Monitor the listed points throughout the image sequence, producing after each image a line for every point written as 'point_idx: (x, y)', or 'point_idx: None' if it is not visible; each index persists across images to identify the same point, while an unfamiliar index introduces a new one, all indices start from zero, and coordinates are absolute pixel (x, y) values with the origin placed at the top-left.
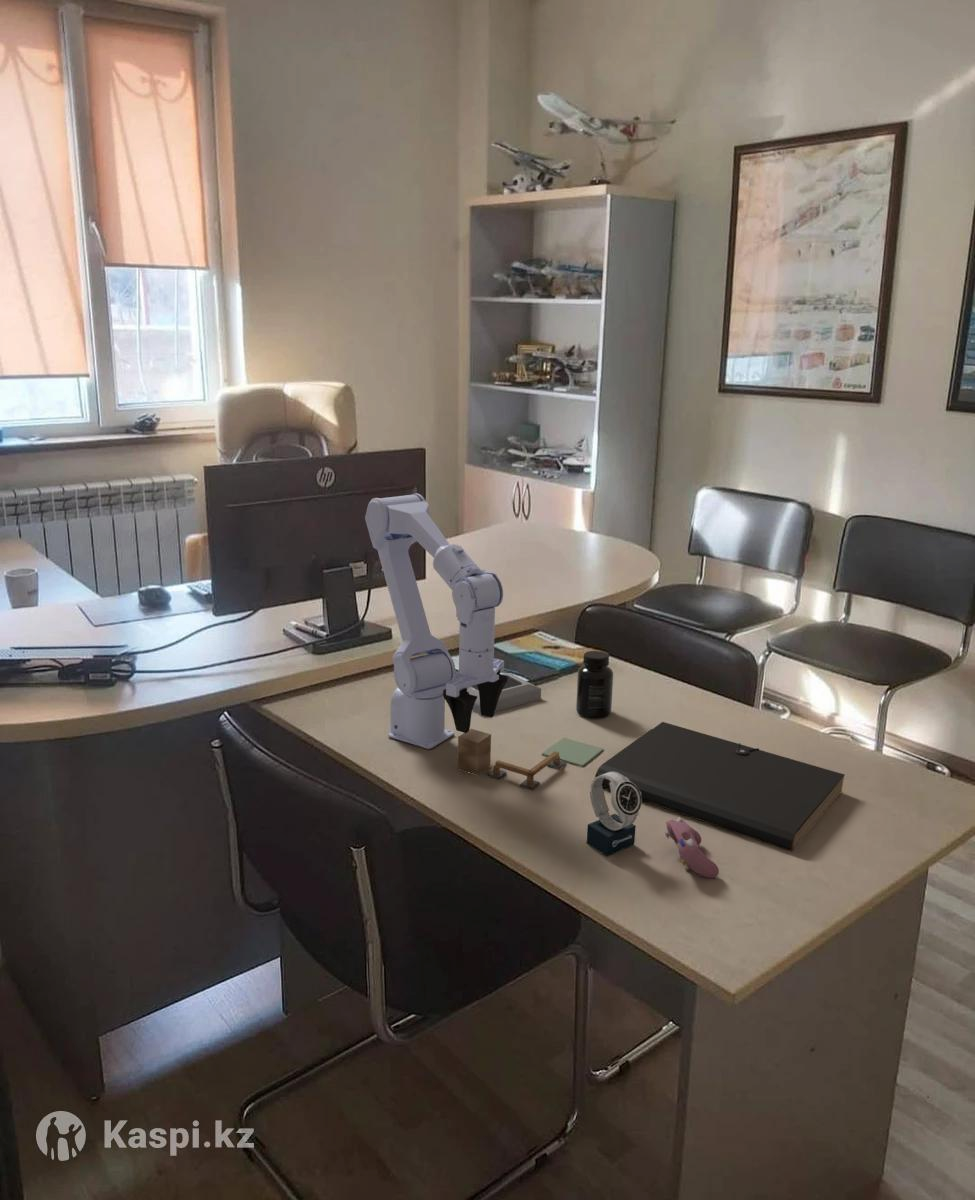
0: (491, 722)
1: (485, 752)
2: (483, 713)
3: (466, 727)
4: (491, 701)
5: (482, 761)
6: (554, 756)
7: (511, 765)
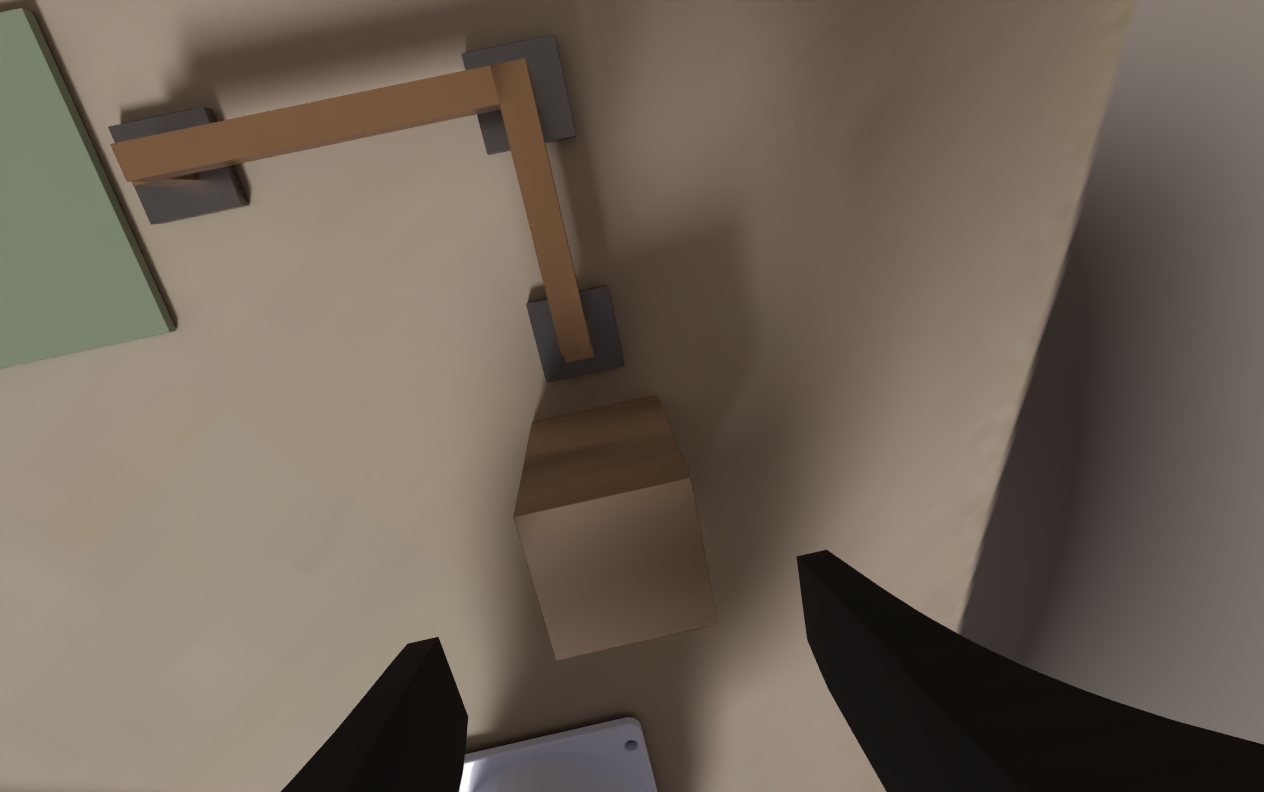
0: (171, 762)
1: (584, 452)
2: (458, 717)
3: (860, 576)
4: (387, 784)
5: (613, 428)
6: (187, 128)
7: (550, 243)
